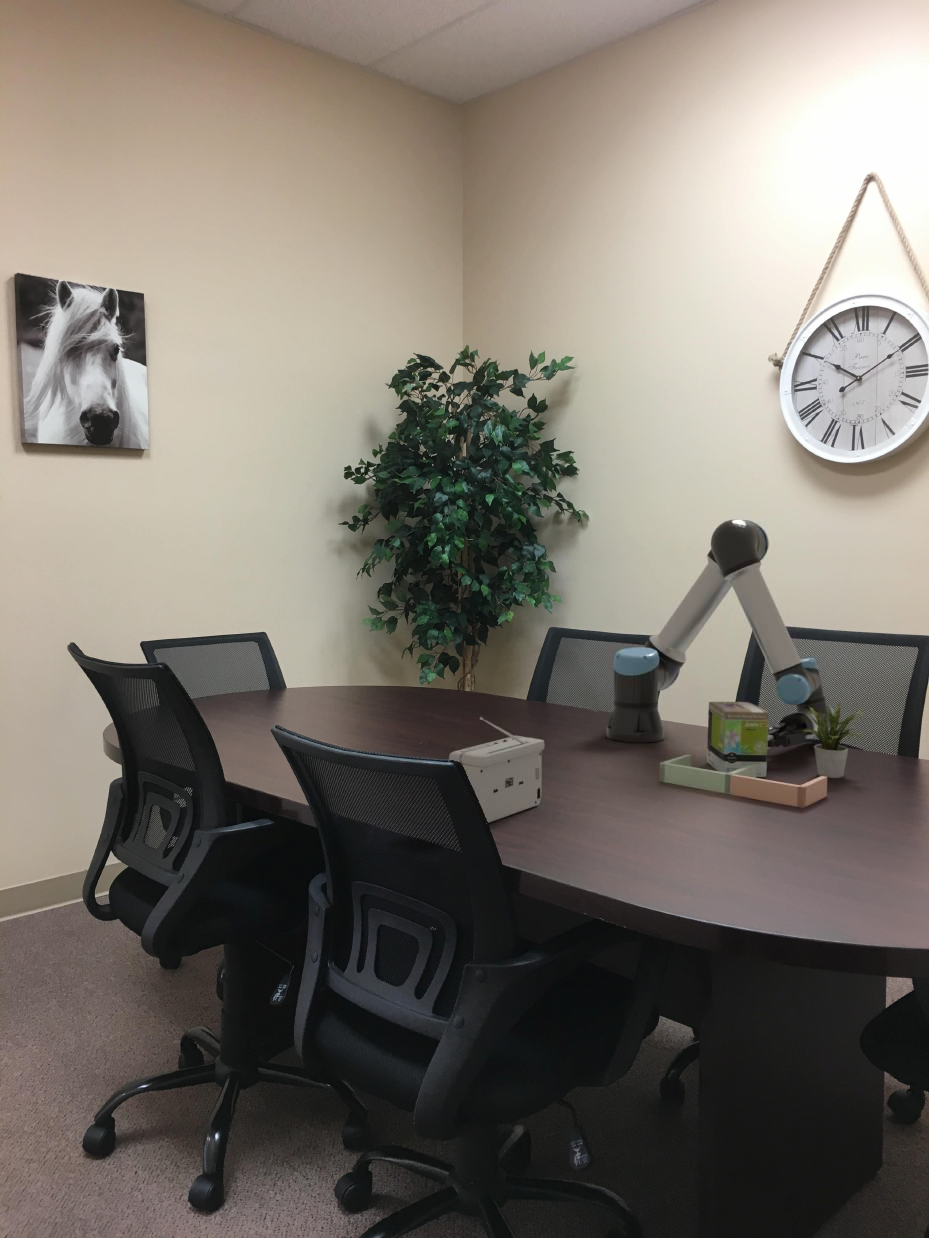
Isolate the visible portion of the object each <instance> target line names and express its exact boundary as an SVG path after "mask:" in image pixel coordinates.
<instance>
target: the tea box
mask: <svg viewBox="0 0 929 1238" xmlns="http://www.w3.org/2000/svg"><path fill="white" fill-rule="evenodd" d="M707 718H708V719H707V720H708V721H707V746H706V747H707V751H706V755H707V757H706V762H707V763H708V764H709V765H710V766H711V767H712V768H714V769H715V771H718V772H724V773H730V772H732V771H735V770H738V769H740V768H743V767H746V766H748V765H756V778H766V776H767V767H768V762H767V761H768V750H767V741H768V726H769V711H768V710H765V709H763V708H761V707H760V706H758V705H756V704H753V703H751V702H749V701H709V702H708V716H707Z"/></svg>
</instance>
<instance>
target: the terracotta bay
mask: <svg viewBox="0 0 929 1238" xmlns="http://www.w3.org/2000/svg"><path fill="white" fill-rule="evenodd" d="M827 792H828V777H824V776H820V775H819V777H816V778H814V779H811V780H810V781H807V782H805V783H803V784H794V783H787V782H782V781H781V782H780V781H775V780H770V779H764V778H760V777H756V778H753V777H747V776H742V775H736V774H732V775H731V777H730V794H729V795H730V796H731V795H732V796H736V797H743V798H748V799H752V800H756V801H757V800H759V801H762V802H768V803H769V802H770V803H773V804H779V805H785V806H789V807H791V806H792V807H796V808H799V809H800V808H801V809H804V808H806V807H808V806H809V805H813V804H814V803H816V802H818V801H821V800H823V799H825V798H826V797H827V796H828V793H827Z"/></svg>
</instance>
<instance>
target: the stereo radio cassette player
mask: <svg viewBox="0 0 929 1238" xmlns="http://www.w3.org/2000/svg"><path fill="white" fill-rule="evenodd" d="M479 720H481V721H484V722H485V723H487V724H489V726H492V728H494V729H497V730H499V731H500V732H501V733H503V734H505V735H506V736H508V737H506V738H502V739H497V740H494V741H489V742H485V743H482V744H478V745H474V746H470V747H466V748H462V749H460V750H459V749H458V750H454V751H452V752H450V753H449V756H448V761H449V760H454V761H458V762H460V763H461V764H462V765H463V767H464V769H465V771H466V774H467V776H468V779H469V781H470V783H471V785H472V787H473V789H474V791H475V794H476V796H477V798H478V800H479V803H480V805H481V807H482V809H483V812H484V814H485V817H486V818H487V821H488V823H492V822H494V821H497V820H500V819H503V818H506V817H508V816H511V815H514V814H517V813H519V812H523V811H525V810H527V809H531V808H533V807H537V806H538V805H540V803H541V798H542V751H543V750H545V740H544V739H539V738H534V737H526V736H520V735H513V734H512V733H510V732H508V731H506V730H504V729H503V728H501V727H500V726H497V725H495V724H493V723H491V722H490V721H488V720H485V719H484V718H483V717H482V716H480V717H479ZM488 823H487V824H488Z"/></svg>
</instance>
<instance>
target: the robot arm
mask: <svg viewBox="0 0 929 1238" xmlns="http://www.w3.org/2000/svg"><path fill="white" fill-rule="evenodd" d="M769 547H770V541H769V536H768V534H767V532H766V530H765V529H764V528H763V527H762V526H761V525H759V523H756V522H754V521H752V520H747V519H742V520H741V519H729V520H725V521H724V522H722V523H721V524H719V525H718V526H717V527H716V528H715V529H714V531H713V533H712V535H711V539H710V548H711V549H710V550H709V552H707V554H706V558H707V564H706V566H705V567H704V569H702V571H701V573H700V575H699V576H698V578H697V579H696V580H695V582H694V583H693V585H692V586H691V587H690V589H688V590H689V591H687V593H686V595H685V596H684V597H683V599H682V600H681V601H680V603H679V604H678V606H677V608H676V609H675V611H673V614H672V615H671V616H670V618H669V619H668V621H667V622H666V624H664V627H662V629H661V631H660V632H659V633H658V634H656V635H651V636H650V637H649V638H648V639H647V641H646V642H645V644H644V645H643V647H641V646H637V647H636V646H635V647H629V648H627V647H626V648H622V649H620V650H618V651H617V652H615V654H614V657H613V664H612V666H613V707H612V708H613V709H612V711H611V714H610V717H609V721H608V722H607V723H608V724H607V725H606V738H608V739H609V740H610V739H611V740H612V741H613V740H614V741H618V742H626V743H654V742H659V741H662V740H664V739H665V729H664V728H665V727H664V726H663V722H662V719H661V716H660V712H659V707H658V706H659V691H664V690H667V689H668V688H669V687H671V686H672V685H673V684H674V683H675V682H676V680H677V679H678V677H679V675H680V670H681V668H682V667H683V666H684V664H685V662H687V657H686V652H687V650H688V649H689V648H690V646H691V645H692V643H694V640H695V639H696V637H697V636H698V635H699V633H700V632H701V631H702V630H703V628H704V626H705V625H706V623H708V621H709V619H710V618H711V617H712V615H713V614H714V613H715V611H716V609H717V608H718V607H719V606H720V604H721V603H722V601H723V600H724V598H725V597H726V596H727V594H729V592H730V590H731V588H733V590H734V592H735V595H736V597H737V599H738V601H739V604H740V606H741V608H742V610H743V612H744V615H745V617H746V619H747V621H748V624H749V626H750V628H751V630H752V632H753V634H754V637H755V639H756V641H757V644H758V645H759V648H760V650H761V652H762V655H763V657H764V658H765V661H766V663H767V665H768V668H769V670H770V672H771V674H772V676H773V679H774V681H775V684H776V685H775V692H776V696H777V697H778V699H779V700H780V701H781V702H782V703H784V704H786V705H790V706H793V705H794V707H795V711H793V712H791V713H789V714H786V715H785V716H784V717H782V718H781V719H780V721H779V722H778V724H774V725H772V727H770V725H768V741H767V751H768V750H770V749H772V748H778V747H781V746H782V748H789V747H793V746H797V745H802V744H805V743H811V742H813V740H814V739H813V738H815V737H817V736H816V735H815V734H813V733H812V732H808V731H804V730H807V729H810V730H814V731H817V728H818V725H817V724H816V723H815V722H814V721H813V719H812V718H811V717H810V716H809V715H811V716H812V717H813V718H814V719H815V720H816V717H815V715H814V714H813V712H812V710H811V709H810V708H812V709H814V710H815V711H816V712H817V713H818V714H819V715H820V717H821V719H822V721H823V714H825V717H826V722H827V725H828V730H830V722H829V712H828V706H827V701H826V700H827V699H826V697H825V693H824V689H823V683H822V679H821V675H820V669H819V667H818V666H819V665H818V663H817V660H816V658H813V657H809V658H801V657H800V656H799V654H798V651H797V648H796V647H795V645H794V642H793V640H792V638H791V636H790V633H789V631H788V629H787V627H786V624H785V622H784V620H783V619H782V618H783V617H782V616H781V614H780V612H779V609H778V606H777V605H776V602H775V601H774V598H773V596H772V594H771V592H770V589H769V587H768V585H767V583H766V580H765V578H764V576H763V574H762V572H761V570H760V569H761V566H762V560H763V559H764V558H765V556H766V555H767V553H768V550H769ZM809 707H810V708H809ZM829 707H830V710H831V712H832V715H834V713H835V710H834V709H833V708H832V706H831V705H829ZM807 713H808V714H809V715H808V714H807ZM816 722H817V720H816ZM817 723H818V722H817ZM823 723H824V721H823ZM824 726H825V725H824ZM817 732H818V731H817Z"/></svg>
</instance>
